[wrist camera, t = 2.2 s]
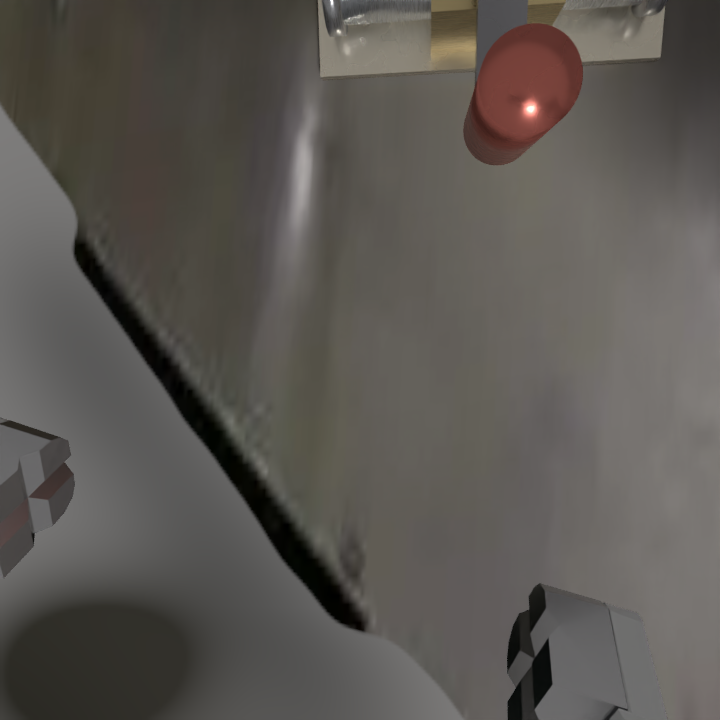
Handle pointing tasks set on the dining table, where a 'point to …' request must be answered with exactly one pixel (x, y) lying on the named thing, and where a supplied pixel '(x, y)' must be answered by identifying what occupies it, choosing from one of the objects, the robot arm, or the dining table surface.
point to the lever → (517, 81)
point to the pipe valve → (472, 34)
